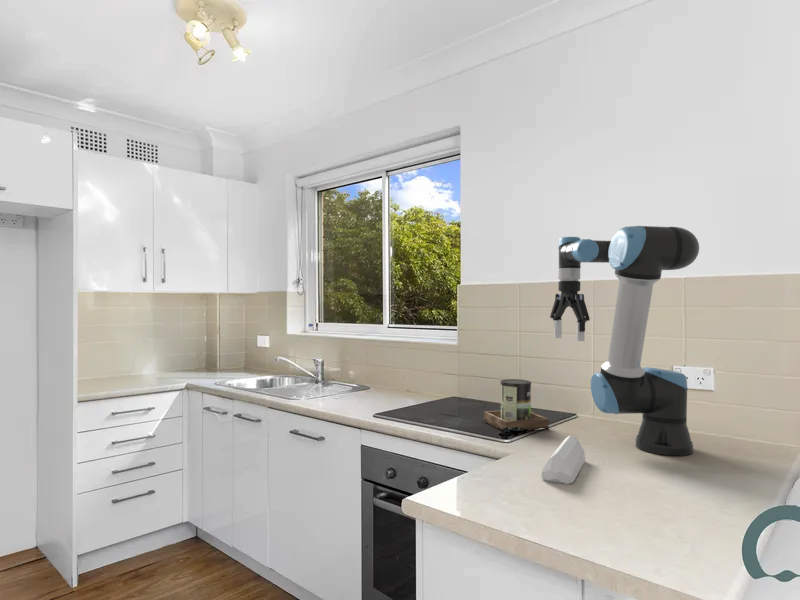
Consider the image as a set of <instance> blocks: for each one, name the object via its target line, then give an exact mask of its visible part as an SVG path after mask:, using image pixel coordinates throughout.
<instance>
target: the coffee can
mask: <svg viewBox="0 0 800 600" xmlns="http://www.w3.org/2000/svg"><path fill="white" fill-rule="evenodd" d="M531 387H532V381H530V380H526V379H516V378H515V379H514V378H509V379H506V378H505V379H502V380H500V411H501V419H503V420H506V421H515V420H529V419H531V412H532V410H531V409H532V407H531V406H532V403H531V399H532V397H531V396H532V393H531V392H532V388H531Z"/></svg>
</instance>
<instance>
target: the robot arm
mask: <svg viewBox="0 0 800 600" xmlns="http://www.w3.org/2000/svg"><path fill="white" fill-rule="evenodd" d="M558 241H559V242H558V275H557V276H558V277H557V278H558V280H559V281H558V287H557V288H558V291H559V292H561V293H555V298H554V302H553V306H552V308H551V312H550V315H549V318H550V319H552V321H553V338H554V339H562V337H563V335H562V334H563V333H562V332H563V331H562V329H563V328H562V326H563V324H562V323H563V322H562V317H563V316H564V313H565V311H566V309H567V308H568V307H570V308H571V309H572V311H573V313H574V315H575V317H576V319H577V321H576V342H585V332H586V323H587V322H589V321H590V319H591V318H590V316H589V311H588V308H587V305H586V302H585V294H584V293H578V292H580V291H581V280H580V279H581V267H582V266H581V265H582V263H598V264H599V263H602V264H603V263H609V265H610V267H611V269H614V275H615V276H616V278H618V281H619V282H618V288H617V294H616V295H617V296H616V303H615V310H614V315H613V323H612V331H611V336H610V344H609V351H608V356H607V357H608V358H607V360H606V361H604V362H602V364H601V366H600V367H601V368H600V372H599V371H598V372H595V373H593V374H592V376H591V378H590V393H591V397H592V399H593V402H594V405H595V406H596V408H597V409H598V410H599V411H600V412H601V413H604V414H612V415H613V414H614V415H619V414H621V415H622V414H623V415H624V414H642V418H641V423H640V426H639V430H638V433H637V435H636V436H635V447H636V448H637V449H639V450H641V451H645V452H647V453H651V454H655V453H656V454H657V455H661V454H663V455H664V456H670V455H684V456H689V455H688V454H690V455H692V454H693V453H694V442H693V441H692V439H691V435H690V432H689V428H688V425H687V421H688V420H687V419H688V418H687V415H688V413H687V412H688V409H687V408H688V391H689V389H688V380H687V377H686V375H685V374H684V373H681V372H679V371H674V370H669V369H662V368H657V367H648V366H646V367H642V366H641V362H642V356H643V351H644V342H645V338H646V332H647V325H648V319H649V313H650V306H651V301H652V293H653V288H654V287H653V286H654V284H655V283H657V282H658V281H660V280H661V277H662V271H676V270H681V269H684V268H687V267H688V266H690V265H691V264H693V263H694V262H695V260H696V259H697V257H698V255H699V252H700V244H699V241H698V239H697V237H696V235H694V233H693V232H692V231H690V230H688V229H686V228H683V227H677V226H650V225H648V226H647V225H634V226H624V227H622V228H620V229H619V230H617V232H616V233H615V234H614V235H613V237H612V239H611V240H593V239H590V238H587V239H585V238H583V239H581V238H580V237H579V236H563V237H560V238H559V240H558ZM579 280H580V281H579ZM691 453H692V454H691ZM656 454H655V455H656Z"/></svg>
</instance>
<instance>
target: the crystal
mask: <svg viewBox="0 0 800 600" xmlns="http://www.w3.org/2000/svg"><path fill="white" fill-rule="evenodd" d="M585 462H586V453H585V449H584V448H583V446H582V444H581V442H580V441H579V439H577V437H575V436H574V435H572V434H570V435H568V436H567V437H566V438H564V439H563V441H562V442H561V443H560V445H559V446H558V447H557V448H556V449H555V451H554V452H553V453H552V455H551V456H550V457H549V458H548V460H547V462H546V463H545V464H544V466H543V468H542V471H541V475H540V476H541V478H542V479H543V480H544V481H546V482H551V483H557V484H565V485H568V484H572V483H573V482H574V481H575V479H576V478H577V476H578V474H579V473H580V471H581V469H582V467H583V466H584V464H585Z"/></svg>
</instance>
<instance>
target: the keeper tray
mask: <svg viewBox="0 0 800 600" xmlns="http://www.w3.org/2000/svg"><path fill="white" fill-rule="evenodd" d="M482 415H483V421H484V422H483V423H485V422H486V424H487V423H488V425H489V424H490V426H491V425H492V427H493V426H494V427H493V428H495V427H496V428H495V429H497V428H499V429H503V428H506V427H508V428H513V427H518V428H522V429H528V430H532V429H539V428H545V430H546V431H549V423H550V421H549V418H548V417H545V416H542V415H540V414H537V413H535V412H532V411H531V419H529V420H515V421H506V420H503V419H501V410H488V411H487V410H485V411H483V413H482ZM499 429H498V430H499ZM545 430H544V431H545Z"/></svg>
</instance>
